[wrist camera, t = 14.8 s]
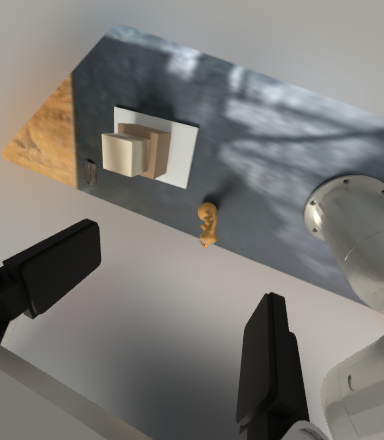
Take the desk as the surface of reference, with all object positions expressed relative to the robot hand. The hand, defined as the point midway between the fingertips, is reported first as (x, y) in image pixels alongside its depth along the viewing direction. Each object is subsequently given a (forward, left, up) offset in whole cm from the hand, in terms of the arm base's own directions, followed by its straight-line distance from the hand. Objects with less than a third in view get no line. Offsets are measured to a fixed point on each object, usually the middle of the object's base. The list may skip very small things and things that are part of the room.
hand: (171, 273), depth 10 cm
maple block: (+18, +1, -24) cm, 30 cm away
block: (+35, +11, -31) cm, 48 cm away
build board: (+18, +1, -30) cm, 35 cm away
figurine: (+2, +10, -31) cm, 32 cm away
